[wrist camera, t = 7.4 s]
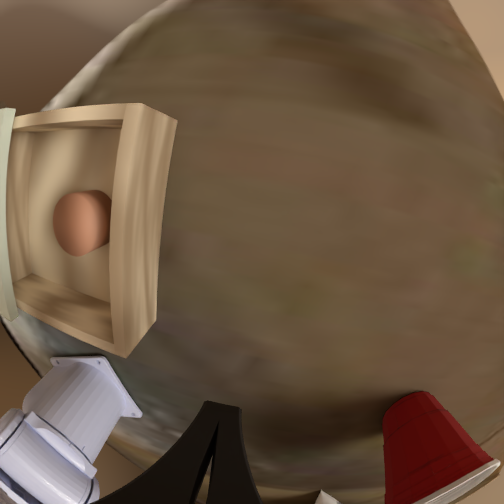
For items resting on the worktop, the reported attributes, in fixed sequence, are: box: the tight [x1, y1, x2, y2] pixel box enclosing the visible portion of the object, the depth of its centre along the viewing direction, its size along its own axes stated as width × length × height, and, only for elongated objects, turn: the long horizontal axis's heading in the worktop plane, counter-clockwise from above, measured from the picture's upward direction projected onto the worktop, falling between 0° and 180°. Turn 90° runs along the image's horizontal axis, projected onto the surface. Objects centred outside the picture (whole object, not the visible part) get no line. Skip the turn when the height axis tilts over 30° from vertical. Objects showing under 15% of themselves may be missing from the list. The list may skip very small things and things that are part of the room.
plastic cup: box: [382, 391, 500, 504], centre depth 14 cm, size 11×11×12 cm
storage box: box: [6, 103, 177, 358], centre depth 15 cm, size 14×14×5 cm
